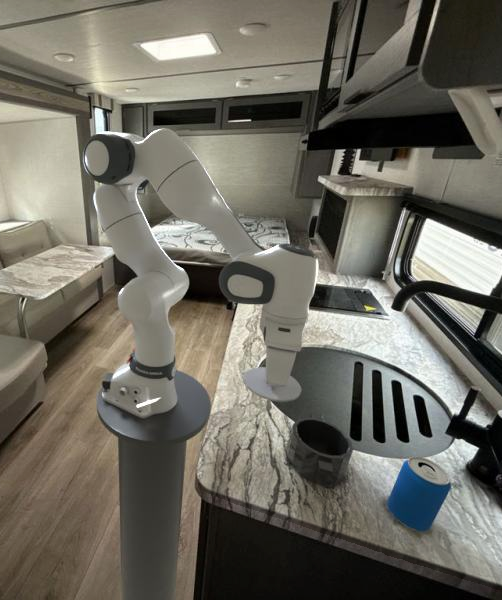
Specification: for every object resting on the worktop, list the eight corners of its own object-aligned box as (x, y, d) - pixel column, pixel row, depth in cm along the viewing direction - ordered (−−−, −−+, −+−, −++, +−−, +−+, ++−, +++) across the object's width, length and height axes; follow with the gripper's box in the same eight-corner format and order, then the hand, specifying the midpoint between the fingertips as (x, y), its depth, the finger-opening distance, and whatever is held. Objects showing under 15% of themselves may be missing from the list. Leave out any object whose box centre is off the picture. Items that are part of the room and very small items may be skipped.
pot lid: (240, 395, 66) (242, 377, 65) (244, 366, 77) (247, 350, 75) (302, 410, 62) (306, 391, 61) (298, 377, 73) (302, 361, 71)
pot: (288, 484, 64) (294, 457, 62) (285, 428, 79) (291, 405, 76) (352, 505, 60) (362, 477, 58) (337, 442, 75) (344, 418, 72)
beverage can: (422, 507, 60) (444, 461, 56) (435, 540, 54) (461, 492, 50) (382, 494, 62) (400, 449, 58) (391, 524, 57) (412, 477, 53)
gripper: (267, 304, 74) (259, 354, 79) (265, 341, 56) (254, 403, 61) (296, 308, 72) (285, 359, 77) (303, 348, 54) (288, 411, 59)
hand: (271, 379), depth 69 cm, fingers closed on pot lid, 2 cm apart
